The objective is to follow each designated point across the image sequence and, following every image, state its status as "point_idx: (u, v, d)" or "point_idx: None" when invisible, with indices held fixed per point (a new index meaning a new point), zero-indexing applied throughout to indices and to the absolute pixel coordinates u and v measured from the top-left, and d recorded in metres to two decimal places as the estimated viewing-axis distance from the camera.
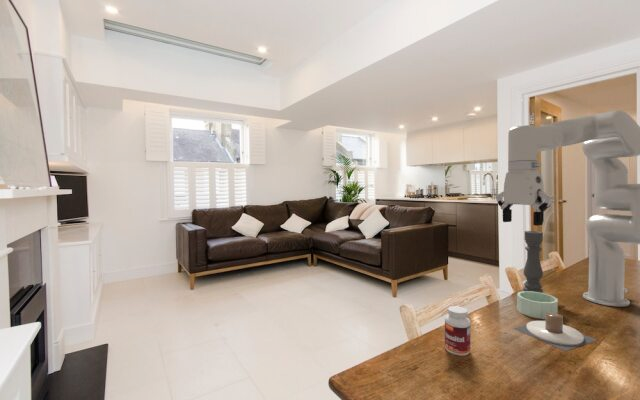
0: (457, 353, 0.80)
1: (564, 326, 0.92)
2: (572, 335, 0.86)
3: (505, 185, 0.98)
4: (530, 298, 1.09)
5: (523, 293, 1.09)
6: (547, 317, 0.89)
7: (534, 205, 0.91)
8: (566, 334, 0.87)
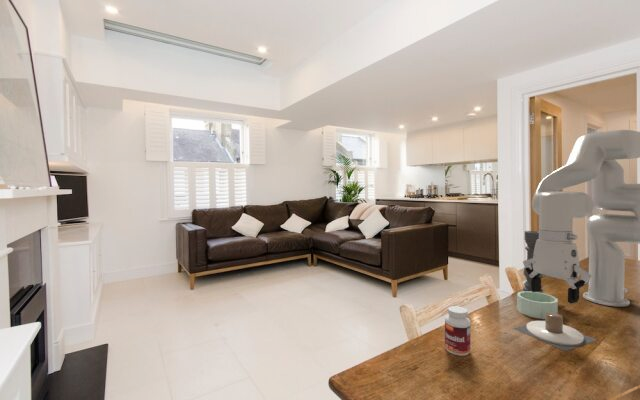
0: (457, 353, 0.80)
1: (564, 326, 0.92)
2: (572, 335, 0.86)
3: (535, 253, 0.91)
4: (530, 298, 1.09)
5: (523, 293, 1.09)
6: (547, 317, 0.89)
7: (569, 281, 0.84)
8: (566, 334, 0.87)
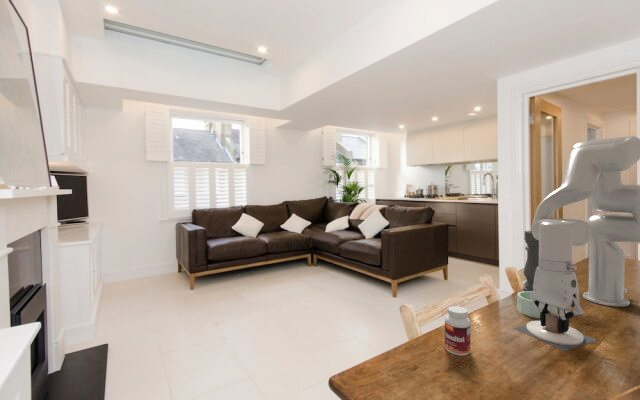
0: (457, 353, 0.80)
1: None
2: (572, 335, 0.86)
3: (535, 281, 0.92)
4: None
5: (523, 293, 1.09)
6: (547, 317, 0.89)
7: (562, 312, 0.86)
8: (566, 334, 0.87)
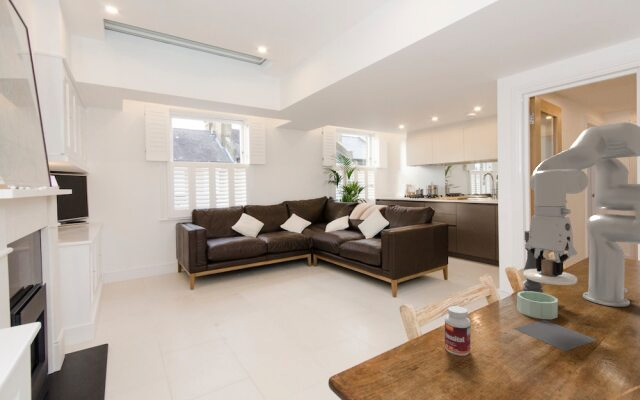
0: (457, 353, 0.80)
1: None
2: (566, 277, 0.91)
3: (531, 229, 0.96)
4: (530, 298, 1.09)
5: (523, 293, 1.09)
6: (543, 262, 0.93)
7: (556, 255, 0.90)
8: (561, 277, 0.91)
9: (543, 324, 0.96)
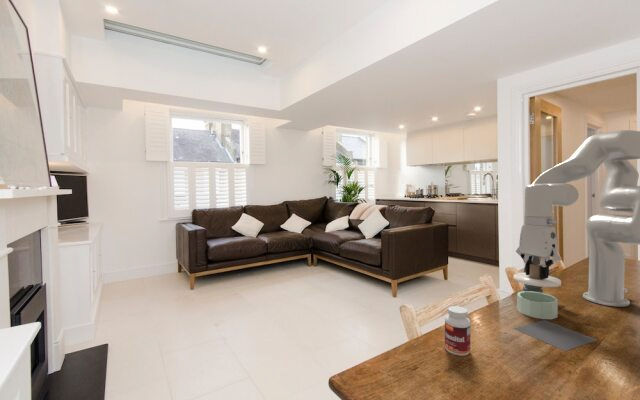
0: (457, 353, 0.80)
1: None
2: (551, 280, 1.01)
3: (521, 236, 1.06)
4: (530, 298, 1.09)
5: (523, 293, 1.09)
6: (531, 266, 1.04)
7: (543, 260, 1.01)
8: (547, 280, 1.01)
9: (543, 324, 0.96)
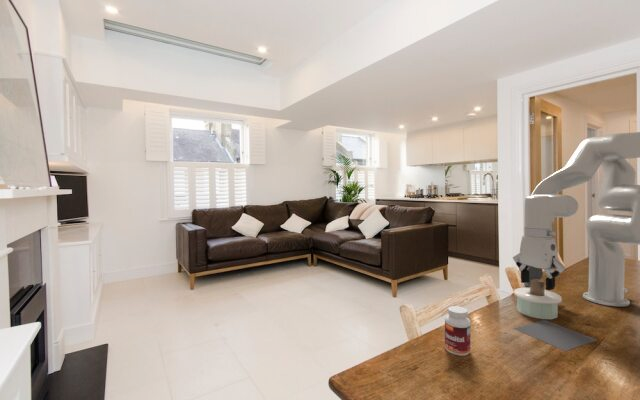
0: (457, 353, 0.80)
1: (546, 291, 1.07)
2: (552, 297, 1.01)
3: (521, 247, 1.06)
4: None
5: None
6: (531, 282, 1.04)
7: (547, 271, 1.00)
8: (547, 296, 1.02)
9: (543, 324, 0.96)
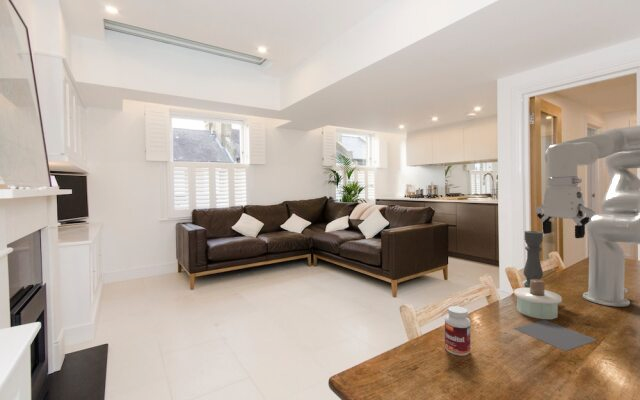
0: (457, 353, 0.80)
1: (546, 291, 1.07)
2: (552, 297, 1.01)
3: (545, 199, 1.03)
4: None
5: None
6: (531, 282, 1.04)
7: (575, 219, 0.96)
8: (547, 296, 1.02)
9: (543, 324, 0.96)
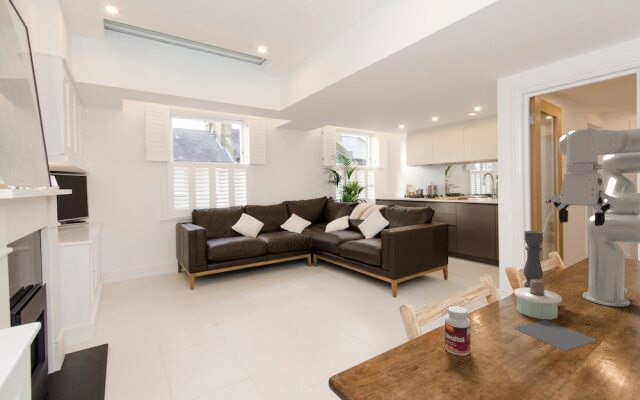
0: (457, 353, 0.80)
1: (546, 291, 1.07)
2: (552, 297, 1.01)
3: (563, 186, 1.01)
4: None
5: None
6: (531, 282, 1.04)
7: (596, 206, 0.94)
8: (547, 296, 1.02)
9: (543, 324, 0.96)
